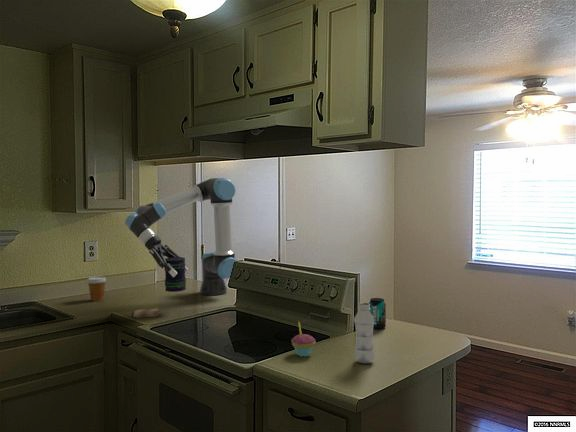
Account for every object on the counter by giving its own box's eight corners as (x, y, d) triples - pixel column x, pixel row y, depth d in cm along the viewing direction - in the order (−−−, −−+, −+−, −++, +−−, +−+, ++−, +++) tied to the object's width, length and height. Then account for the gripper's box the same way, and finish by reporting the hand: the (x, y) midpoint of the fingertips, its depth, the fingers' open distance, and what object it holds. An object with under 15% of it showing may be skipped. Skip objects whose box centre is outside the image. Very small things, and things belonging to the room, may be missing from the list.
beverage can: (389, 328, 209) (389, 299, 208) (377, 330, 205) (376, 302, 204) (377, 324, 215) (377, 296, 214) (365, 326, 211) (365, 298, 210)
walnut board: (158, 310, 242) (158, 308, 242) (157, 316, 233) (157, 313, 233) (135, 312, 240) (135, 309, 240) (133, 317, 230) (133, 315, 230)
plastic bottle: (372, 366, 164) (372, 307, 163) (352, 364, 167) (352, 305, 165) (376, 360, 170) (376, 302, 169) (357, 358, 173) (356, 301, 171)
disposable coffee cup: (107, 301, 265) (106, 278, 264) (87, 302, 262) (87, 280, 261) (106, 297, 274) (105, 275, 273) (87, 299, 270) (87, 277, 270)
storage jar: (190, 288, 240) (189, 258, 239) (175, 292, 232) (174, 260, 231) (176, 286, 246) (175, 256, 245) (160, 290, 237) (159, 259, 236)
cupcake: (287, 355, 176) (286, 322, 176) (299, 348, 183) (299, 316, 183) (307, 360, 171) (307, 325, 171) (320, 353, 179) (319, 320, 178)
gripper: (157, 242, 252) (187, 274, 249) (132, 248, 231) (164, 283, 227) (166, 232, 250) (196, 264, 247) (142, 237, 229) (174, 272, 226)
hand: (180, 273), depth 237 cm, fingers closed on storage jar, 10 cm apart
